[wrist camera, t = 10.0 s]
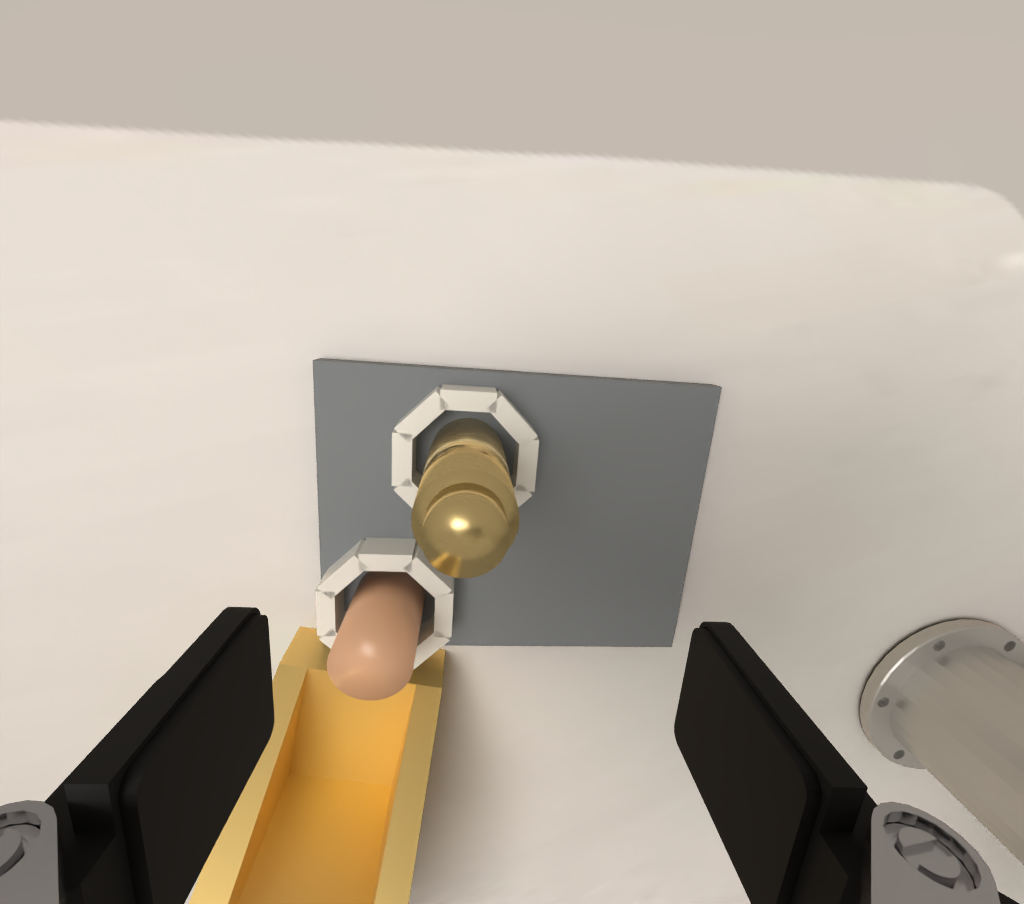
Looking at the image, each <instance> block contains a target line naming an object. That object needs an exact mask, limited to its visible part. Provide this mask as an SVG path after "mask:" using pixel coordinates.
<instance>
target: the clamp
mask: <svg viewBox="0 0 1024 904" xmlns="http://www.w3.org/2000/svg"><path fill="white" fill-rule="evenodd" d="M319 638H320V636H317V629H312V628H306V627H299V629H298V631H297V633H296V635H295V636H294V638H293V640H292V642H291V644H290V645H289V647H288V649H287V651H286V653H285V654H284V656H283V658H282V660H281V662H280V663H279V666H278V669H277V671H276V674H275V677H274V679H273V682H272V687H273V702H274V727H273V732H272V735H271V737H270V740H269V742H268V744H267V745H266V747H265V749H264V751H263V753H262V755H261V757H260V759H259V761H258V763H257V765H256V767H255V768H254V770H253V772H252V774H251V776H250V778H249V780H248V782H247V784H246V786H245V788H244V790H243V792H242V793H241V795H240V797H239V799H238V801H237V803H236V805H235V807H234V809H233V811H232V813H231V815H230V816H229V818H228V820H227V822H226V824H225V826H224V828H223V830H222V832H221V834H220V836H219V838H218V840H217V841H216V843H215V845H214V847H213V849H212V851H211V853H210V855H209V857H208V859H207V861H206V863H205V864H204V866H203V868H202V871H201V873H200V876H199V878H198V881H197V884H196V886H195V889H194V892H193V894H192V897H191V900H190V902H189V904H409V897H410V891H411V884H412V878H413V872H414V865H415V859H416V853H417V846H418V840H419V834H420V827H421V821H422V814H423V808H424V802H425V795H426V789H427V783H428V776H429V770H430V764H431V757H432V751H433V744H434V738H435V732H436V725H437V719H438V713H439V706H440V700H441V693H442V686H443V673H444V660H445V650H442V649H439V650H437V651H436V652H435V653H434V654H432V655H431V656H430V657H429V658H428V659H426V660H425V661H424V662H423V663H421V664H420V665H419V666H418V667H416V668H415V669H413V672H412V676H411V678H410V680H409V682H408V683H407V685H406V686H405V687H404V688H403V689H402V690H401V691H399V692H398V693H396V694H395V695H393V696H391V697H388V698H385V699H381V700H373V701H368V700H360V699H356V698H353V697H350V696H348V695H346V694H344V693H343V692H342V691H340V690H339V689H338V688H337V687H336V686H335V685H334V684H333V682H332V681H331V679H330V677H329V674H328V671H327V659H328V655H329V652H330V650H331V649H330V648H329V647H328V646H326V645H325V644H323V642H321V641H320V640H319Z"/></svg>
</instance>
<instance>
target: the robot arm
mask: <svg viewBox="0 0 1024 904" xmlns="http://www.w3.org/2000/svg"><path fill="white" fill-rule="evenodd" d="M860 721H861V725H862V728H863V731H864V733H865V735H866V736H867V738H868V739H869V741H870V742H871V743H872V744H873V745H874V746H875V747H876V748H877V750H878V751H879V752H880V753H881V754H882V755H883V756H884V757H886V758H887V759H889V760H890V761H892V762H894V763H897V764H899V765H902V766H905V767H911V768H917V769H927V770H928V771H929V772H930V773H931V774H932V775H933V776H934V777H935V778H936V779H937V780H938V781H939V782H940V783H941V784H942V785H943V786H944V787H945V788H946V789H947V790H948V791H949V792H950V793H951V794H952V795H953V796H954V797H955V798H956V799H957V800H958V801H959V802H961V803H962V804H963V805H964V806H965V807H966V808H967V809H968V810H969V811H970V812H971V813H972V814H973V815H974V816H975V817H976V818H977V819H978V820H979V821H980V822H981V823H982V824H983V825H984V826H985V827H986V828H987V829H988V830H989V831H990V832H991V833H992V834H993V835H994V836H995V837H996V838H997V839H998V840H999V841H1000V842H1001V843H1002V844H1003V845H1004V846H1005V847H1006V848H1007V849H1008V850H1009V851H1010V852H1011V853H1012V854H1013V855H1014V856H1015V857H1016V858H1017V859H1018V860H1019V861H1020V862H1021V863H1022V864H1023V865H1024V644H1023V643H1022V642H1021V640H1020V639H1018V638H1017V637H1015V636H1014V635H1012V634H1011V633H1009V632H1007V631H1006V630H1004V629H1003V628H1001V627H999V626H996V625H994V624H992V623H990V622H986V621H981V620H976V619H960V620H954V621H947V622H943V623H940V624H937V625H933V626H930V627H927V628H925V629H923V630H921V631H919V632H917V633H915V634H913V635H912V636H910V637H909V638H907V639H906V640H904V641H903V642H901V643H900V644H898V645H897V646H896V647H895V648H894V649H893V650H892V651H891V652H889V653H888V654H887V655H886V656H885V657H884V658H883V660H882V661H881V662H880V663H879V664H878V666H877V667H876V668H875V670H874V671H873V673H872V675H871V676H870V678H869V680H868V681H867V684H866V686H865V689H864V692H863V694H862V699H861V705H860ZM273 727H274V702H273V687H272V672H271V657H270V641H269V626H268V618H267V616H265V615H260V611H259V609H257V608H249V607H227V608H226V609H225V610H223V611H222V612H221V614H220V615H219V616H218V617H217V618H216V619H215V620H214V621H213V622H212V623H211V624H210V625H209V627H208V628H207V629H206V630H205V631H204V632H203V633H202V634H201V635H200V636H199V637H198V639H197V640H196V641H195V642H194V643H193V644H192V645H191V646H190V647H189V648H188V649H187V650H186V652H185V653H184V654H183V655H182V656H181V657H180V658H179V659H178V660H177V661H176V662H175V664H174V665H173V666H172V667H171V668H170V669H169V670H168V671H167V672H166V673H165V674H164V675H163V676H162V677H161V678H160V679H158V680H157V681H156V682H155V683H154V684H153V685H152V686H151V687H150V688H149V690H148V691H147V692H146V693H145V694H144V695H143V696H142V697H141V698H140V699H139V700H138V701H137V703H136V704H135V705H134V706H133V707H132V708H131V709H130V710H129V711H128V712H127V713H126V714H125V715H124V717H123V718H122V719H121V720H120V721H119V722H118V723H117V724H116V725H115V726H114V727H113V728H112V729H111V731H110V732H109V733H108V734H107V735H106V736H105V737H104V738H103V739H102V740H101V741H100V742H99V744H98V745H97V746H96V747H95V748H94V749H93V750H92V751H91V752H90V753H89V754H88V755H87V756H86V758H85V759H84V760H83V761H82V762H81V763H80V764H79V765H78V766H77V767H76V768H75V769H74V771H73V772H72V773H71V774H70V775H69V776H68V777H67V778H66V779H65V780H64V781H63V782H62V783H61V785H60V786H59V787H58V788H57V789H56V790H55V791H54V792H53V793H52V794H51V795H50V796H49V798H48V799H47V800H46V801H45V802H42V801H30V800H27V801H21V802H15V803H9V804H6V805H3V806H0V904H184V903H185V901H186V899H187V897H188V895H189V893H190V891H191V889H192V888H193V886H194V884H195V882H196V880H197V878H198V876H199V874H200V872H201V870H202V868H203V866H204V864H205V863H206V861H207V859H208V857H209V855H210V853H211V851H212V849H213V847H214V845H215V843H216V841H217V840H218V838H219V836H220V834H221V832H222V830H223V828H224V826H225V824H226V822H227V820H228V818H229V816H230V815H231V813H232V811H233V809H234V807H235V805H236V803H237V801H238V799H239V797H240V795H241V793H242V792H243V790H244V788H245V786H246V784H247V782H248V780H249V778H250V776H251V774H252V772H253V770H254V768H255V767H256V765H257V763H258V761H259V759H260V757H261V755H262V753H263V751H264V749H265V747H266V745H267V744H268V742H269V740H270V737H271V735H272V732H273ZM674 732H675V738H676V741H677V744H678V746H679V749H680V751H681V753H682V755H683V757H684V759H685V762H686V764H687V766H688V768H689V770H690V772H691V775H692V777H693V779H694V781H695V783H696V785H697V788H698V790H699V792H700V794H701V796H702V798H703V800H704V803H705V805H706V807H707V809H708V811H709V813H710V816H711V818H712V820H713V822H714V824H715V826H716V829H717V831H718V833H719V835H720V837H721V839H722V842H723V844H724V846H725V848H726V850H727V852H728V855H729V857H730V859H731V861H732V863H733V865H734V868H735V870H736V872H737V874H738V876H739V878H740V881H741V883H742V885H743V887H744V889H745V891H746V893H747V896H748V898H749V900H750V902H751V904H1019V903H1017V902H1016V901H1014V900H1012V899H1010V898H1009V897H1007V896H1005V895H1004V894H1002V893H1000V892H998V891H997V887H996V883H995V880H994V878H993V876H992V873H991V871H990V869H989V867H988V866H987V864H986V863H985V862H984V860H983V859H982V857H981V856H980V855H979V853H978V852H977V851H976V850H975V849H974V848H973V847H972V846H971V845H970V844H969V843H968V842H967V841H966V840H965V839H964V838H963V837H962V836H961V835H959V834H958V833H957V832H955V831H954V830H953V829H951V828H950V827H949V826H948V825H946V824H945V823H944V822H942V821H940V820H938V819H937V818H935V817H933V816H932V815H930V814H928V813H926V812H924V811H922V810H919V809H917V808H914V807H912V806H909V805H906V804H901V803H896V802H888V803H881V804H880V805H877V804H876V803H875V802H874V801H873V799H872V798H871V797H870V796H869V794H868V793H867V792H866V791H867V789H868V787H867V786H866V785H865V784H864V782H863V781H862V780H861V779H860V778H859V776H858V775H857V774H856V773H855V772H854V770H853V769H852V768H851V767H850V766H849V764H848V763H847V762H846V761H845V760H844V758H843V757H842V756H841V755H840V754H839V752H838V751H837V750H836V749H835V748H834V746H833V745H832V744H831V743H830V741H829V740H828V739H827V738H826V737H825V735H824V734H823V733H822V732H821V731H820V729H819V728H818V727H817V726H816V725H815V723H814V722H813V721H812V720H811V719H810V717H809V716H808V715H807V714H806V713H805V711H804V710H803V709H802V708H801V707H800V705H799V704H798V703H797V702H796V701H795V699H794V698H793V697H792V696H791V695H790V693H789V692H788V691H787V690H786V689H785V687H784V686H783V685H782V684H781V683H780V681H779V680H778V679H777V678H776V677H775V675H774V674H773V673H772V672H771V671H770V669H769V668H768V667H767V666H766V665H765V663H764V662H763V661H762V660H761V659H760V657H759V656H758V655H757V654H756V653H755V651H754V650H753V649H752V648H751V647H750V645H749V644H748V643H747V642H746V641H745V639H744V638H743V637H742V636H741V635H740V633H739V632H738V631H737V630H736V629H735V627H734V626H733V625H732V624H731V623H728V622H702V623H701V625H700V627H699V628H695V629H694V630H693V633H692V637H691V642H690V647H689V652H688V658H687V663H686V668H685V673H684V678H683V683H682V688H681V693H680V699H679V704H678V709H677V714H676V719H675V725H674Z"/></svg>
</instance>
